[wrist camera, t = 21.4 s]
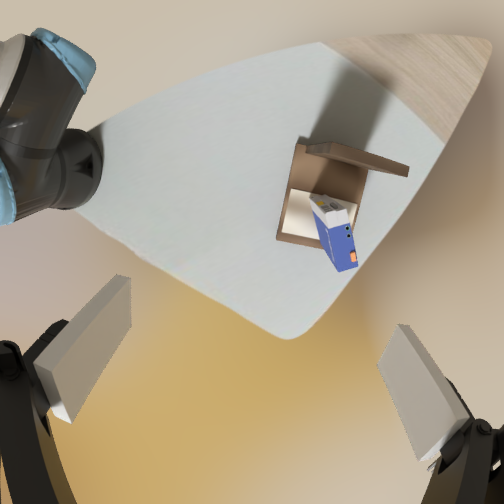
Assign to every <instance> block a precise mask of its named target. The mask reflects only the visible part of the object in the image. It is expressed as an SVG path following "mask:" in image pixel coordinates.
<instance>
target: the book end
mask: <svg viewBox="0 0 504 504" xmlns="http://www.w3.org/2000/svg"><path fill="white" fill-rule="evenodd" d="M368 169H370V170H375V171H380V172H385V173H390V174H395V175H399V176H404V177H408V172H409V166H406V165H404V164H401V163H398V162H395V161H392V160H390V159H387V158H384V157H381V156H378V155H375V154H371V153H368V152H365V151H362V150H359V149H355V148H352V147H348V146H345V145H341V144H338V143H334V142H328V143H321V144H315V145H308V146H306V145H301V144H296V146H295V151H294V156H293V160H292V165H291V170H290V175H289V180H288V184H287V189H286V194H285V198H284V203H283V208H282V212H281V217H280V221H279V226H278V231H277V235H276V240H279V241H284V242H289V243H294V244H299V245H304V246H309V247H314V248H319V249H324V248H323V247H322V245H321V243H320V239H319V235H318V231H317V227H316V223H315V219H314V215H313V211H312V208H311V204H310V200H309V197H313V196H316V195H317V196H321V195H325V194H326V195H327V196H329V197H330V198H332V199H333V200H335V201H336V202H337V203H339V204H340V205H342V206H343V207H345V208H346V209H347V213H348V218H349V222H350V226H351V230H352V233H353V229H354V226H355V222H356V218H357V214H358V210H359V207H360V203H361V199H362V195H363V191H364V186H365V182H366V178H367V173H368Z"/></svg>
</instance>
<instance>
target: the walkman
mask: <svg viewBox="0 0 504 504" xmlns="http://www.w3.org/2000/svg"><path fill="white" fill-rule="evenodd" d="M309 200H310V204H311V208H312V211H313V215H314V219H315V223H316V227H317V231H318V235H319V239H320V243H321V245H322V247H323V248H324V250H325V251H326V253H327V255H328V256H329V258H330V260H331V261H332V263H333V264H334V266H335V268H336V269H337V271H338V272H341V271H345V270H348V269H351V268H354V267H358V262H357V256H356V251H355V246H354V240H353V235H352V230H351V226H350V222H349V218H348V213H347V209H346V208H345V207H343V206H342V205H340V204H339V203H337V202H336V201H335V200H333V199H332V198H330V197H329V196H327V195H326V194H325V195H321V196H317V195H316V196H313V197H309Z"/></svg>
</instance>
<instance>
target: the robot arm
mask: <svg viewBox="0 0 504 504" xmlns="http://www.w3.org/2000/svg"><path fill="white" fill-rule="evenodd" d="M95 70H96V63H95V61H94V59H93V58H92V57H91V56H90V55H89V54H87V53H86V52H85V51H83V50H82V49H80V48H79V47H77V46H76V45H74V44H73V43H71V42H70V41H68V40H66V39H64V38H62V37H59V36H58V35H56V34H55V33H53V32H51V31H49V30H46V29H44V28H37V29H36V30H35V31H34V32H32V33H31V36H27V35H24V34H18V35H16V36H14V37H12V38H10V39H9V40H7V41H5V42H2V41H0V226H2V225H5V224H6V225H9V224H11V223H13V222H15V221H17V220H19V219H22V218H24V217H26V216H29V215H31V214H33V213H36V212H38V211H41V210H43V209H46V208H56V209H61V210H70V209H74V208H77V207H79V206H82V205H83V204H85V203H86V202H88V201H89V200H90V199H91V197H92V196H93V195H94V193H95V192H96V190H97V187H98V185H99V182H100V178H101V172H102V161H101V155H100V151H99V148H98V146H97V144H96V142H95V140H94V139H93V138H92V137H91V136H90V135H89V134H88V133H87V132H85V131H83V130H80V129H66V128H67V126H68V124H69V122H70V120H71V118H72V115H73V113H74V111H75V109H76V107H77V105H78V103H79V101H80V100H81V98H82V96H83V95H84V94H85V93H86V91H87V89H86V88H87V86H88V85H89V83H90V81H91V79H92V77H93V75H94V73H95ZM130 328H131V278H129V277H125V276H121V275H117V274H116V275H115V276H114V277H113V278H112V279H111V280H110V281H109V282H108V283H107V284H106V285H105V286H104V287H103V288H102V289H101V290H100V291H99V292H98V293H97V294H96V295H95V296H94V297H93V298H92V299H91V300H90V301H89V302H88V303H87V304H86V305H85V306H84V307H83V308H82V309H81V311H80V312H78V314H77V315H76V316H75V317H74V318H73V319H72V320H71V321H70V322H69V321H66V320H63V319H62V320H60V321H58V322H56V323H54V324H52V325H51V326H50V327H49V328H48V329H47V330H46V331H45V333H43V334H42V335H41V336H40V337H39V339H37V340H36V341H35V343H34V344H33V345H32V346H31V347H30V348H29V349H28V350H27V351H26V352H25V353H24V355H23V356H22V354H21V351H20V348H19V346H18V345H17V344H16V343H14V342H12V341H6V340H3V341H0V466H1V456H2V462H3V467H4V471H5V476H6V480H7V484H8V488H9V492H10V496H11V499H12V502H13V504H77V503H76V500H75V498H74V496H73V493H72V491H71V488H70V486H69V483H68V481H67V478H66V475H65V473H64V470H63V467H62V464H61V461H60V458H59V455H58V452H57V449H56V445H55V442H54V438H53V435H52V431H51V427H50V423H49V419H48V416H47V414H46V413H47V411H48V410H49V408H50V407H51V409H52V411H53V413H54V415H55V416H56V417H58V418H60V419H62V420H64V421H66V422H69V423H71V424H72V423H73V421H74V419H75V418H76V416H77V414H78V412H79V410H80V409H81V407H82V405H83V404H84V402H85V400H86V398H87V397H88V395H89V393H90V392H91V390H92V388H93V387H94V385H95V383H96V381H97V380H98V378H99V377H100V375H101V373H102V371H103V370H104V368H105V367H106V365H107V363H108V362H109V360H110V359H111V357H112V356H113V354H114V352H115V351H116V349H117V348H118V346H119V345H120V343H121V341H122V340H123V338H124V337H125V335H126V333H127V332H128V331H129V329H130ZM377 366H378V369H379V371H380V373H381V375H382V377H383V379H384V382H385V384H386V386H387V388H388V391H389V393H390V395H391V397H392V400H393V402H394V404H395V406H396V409H397V411H398V413H399V416H400V418H401V421H402V423H403V425H404V428H405V430H406V433H407V435H408V437H409V440H410V443H411V445H412V447H413V450H414V453H415V455H416V458H417V461H423V460H427V459H431V458H432V457H433V456H434V455H435V454H436V453H437V452H438V451H439V450H440V452H441V456H440V457H439V458H438V459H437V460H436V461H435V462H434V463H433V464H431V465H430V466H429V467H428V469H427V470H428V471H429V470H430V469H431V468H433V467H434V466H435V468H434V470H433V471H432V473H433V474H432V477H431V479H430V482H429V485H428V487H427V490H426V493H425V495H424V497H423V500H422V503H421V504H504V425H503V426H502V427H501V428H500V429H492V427H491V425H490V424H489V423H488V422H487V421H485V420H483V419H476V420H475V418H474V417H473V415H472V413H471V412H470V410H469V409H468V407H467V405H466V404H465V402H464V400H463V399H461V396H460V394H459V393H457V389H456V388H455V386H454V385H453V383H451V381H449V380H448V379H447V378H446V377H445V376H444V375H443V373H442V372H441V370H440V369H439V367H438V366H437V364H436V363H435V361H434V360H433V358H432V357H431V356H430V354H429V353H428V351H427V350H426V348H425V347H424V346H423V344H422V343H421V341H420V340H419V339H418V337H417V336H416V334H415V333H414V332H413V330H412V329H411V328H410V326H409V325H403V324H397V326H396V328H395V330H394V332H393V334H392V336H391V339H390V340H389V342H388V344H387V346H386V348H385V350H384V352H383V354H382V356H381V358H380V360H379V362H378V364H377ZM499 460H500V462H501V465H500V466H499V467H498V468H496V469H495V470H494V471H493V466H494V465H495V464H496V463H497V462H498V461H499ZM0 504H1V491H0Z"/></svg>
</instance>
